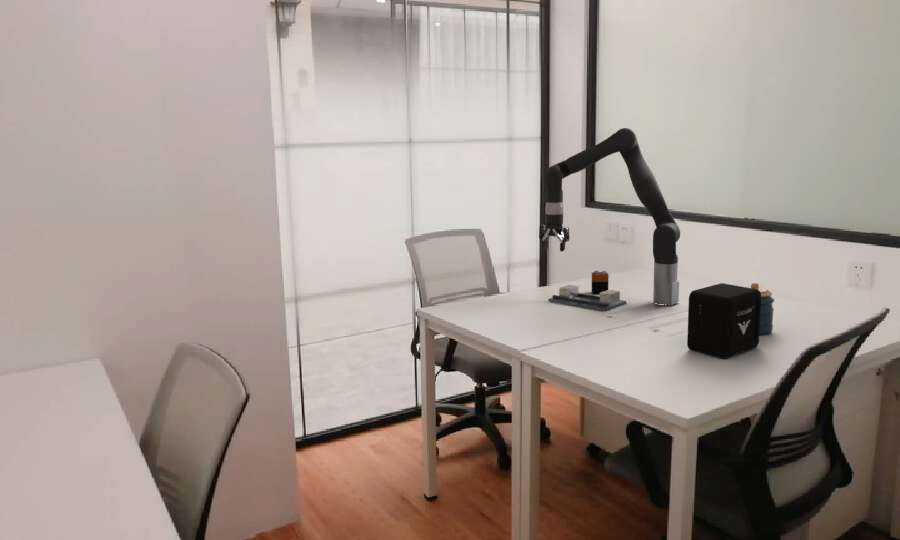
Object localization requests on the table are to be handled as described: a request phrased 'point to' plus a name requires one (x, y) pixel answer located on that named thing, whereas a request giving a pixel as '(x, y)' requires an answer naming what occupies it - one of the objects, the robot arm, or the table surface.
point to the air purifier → (724, 320)
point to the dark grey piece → (592, 300)
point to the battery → (599, 282)
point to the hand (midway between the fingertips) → (553, 250)
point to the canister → (765, 310)
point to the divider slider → (569, 291)
